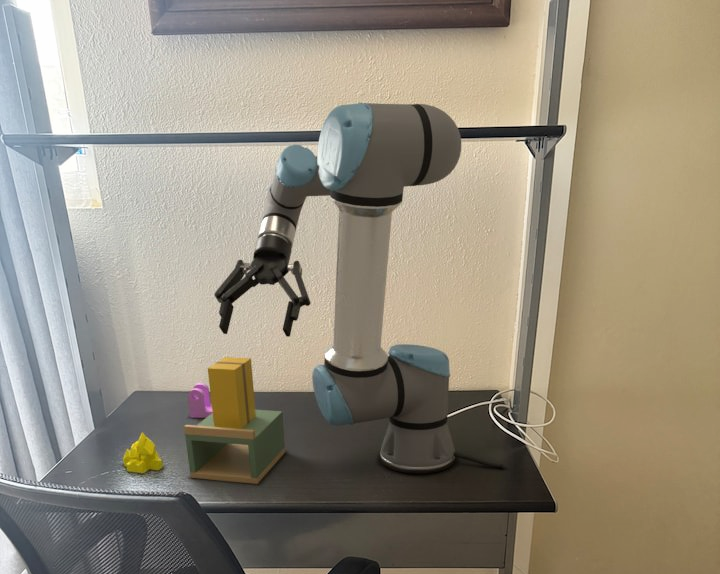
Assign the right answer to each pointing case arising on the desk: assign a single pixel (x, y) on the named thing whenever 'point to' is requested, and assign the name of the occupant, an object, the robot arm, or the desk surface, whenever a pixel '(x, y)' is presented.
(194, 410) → the bracket
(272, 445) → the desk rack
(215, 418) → the package
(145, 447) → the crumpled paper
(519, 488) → the desk surface
